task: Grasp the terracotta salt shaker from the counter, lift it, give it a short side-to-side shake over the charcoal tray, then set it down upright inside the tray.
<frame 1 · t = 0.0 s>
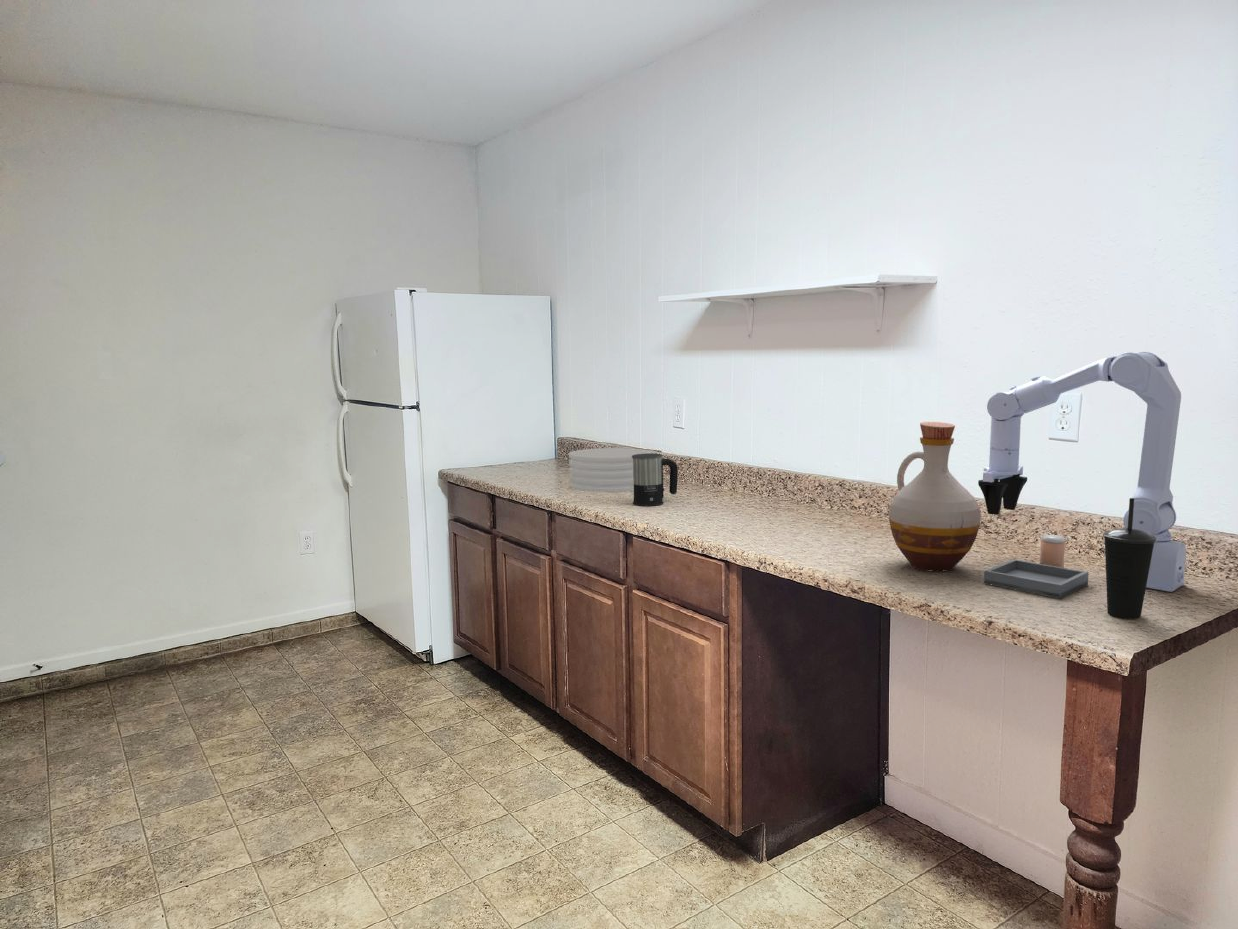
hand: (1001, 511, 179), 10 cm above the kitchen counter, tool pointing down, fingers open, 7 cm apart
shaker: (1051, 570, 170), on the kitchen counter
plate stack: (610, 486, 286), on the kitchen counter
tray: (1035, 584, 160), on the kitchen counter
drinking cup: (1123, 616, 141), on the kitchen counter
milk frother: (649, 502, 254), on the kitchen counter
jug: (928, 566, 175), on the kitchen counter
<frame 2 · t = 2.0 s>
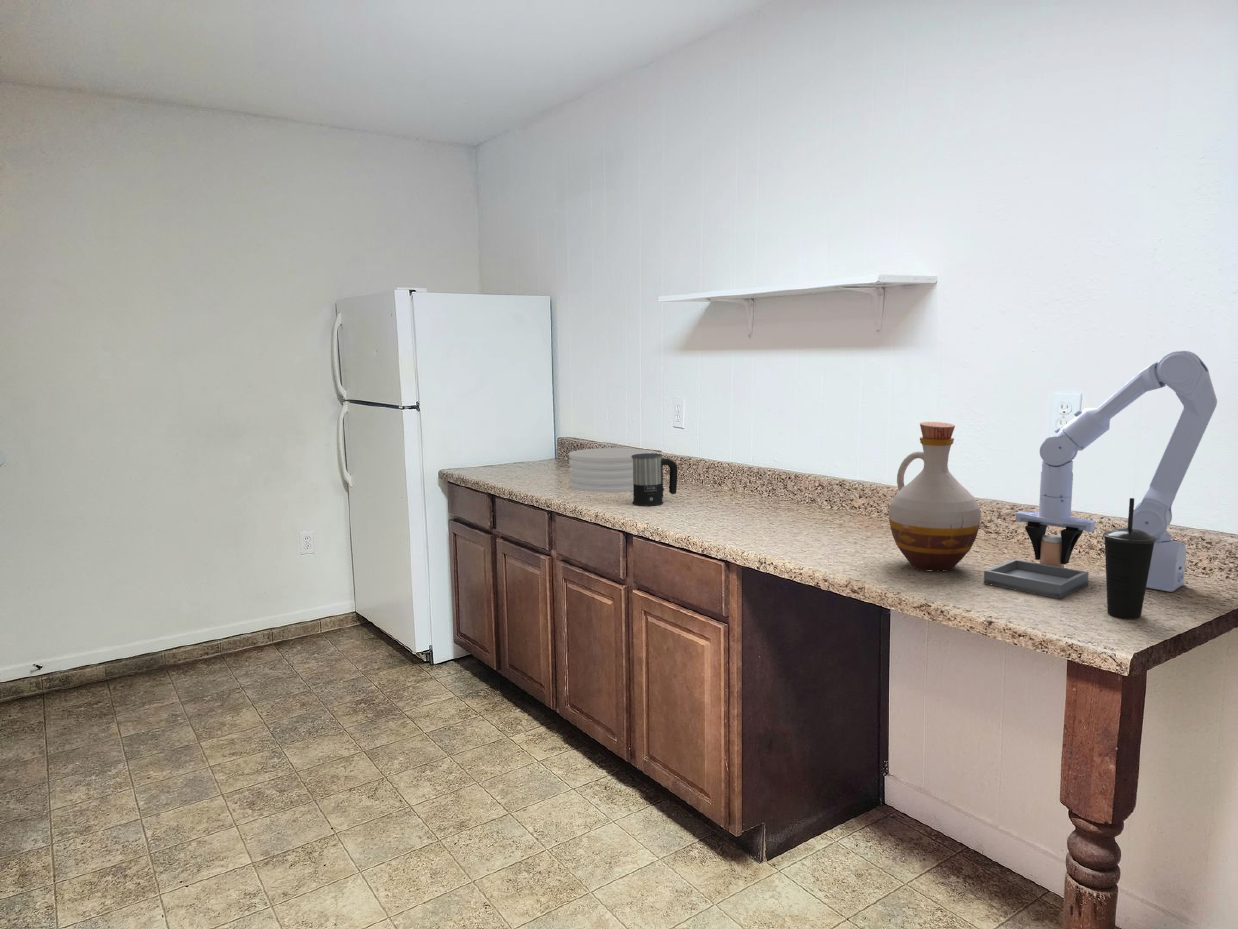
hand: (1051, 561, 169), 2 cm above the kitchen counter, tool pointing down, fingers closed on shaker, 4 cm apart
shaker: (1051, 570, 170), on the kitchen counter, touching gripper
everything else where it was.
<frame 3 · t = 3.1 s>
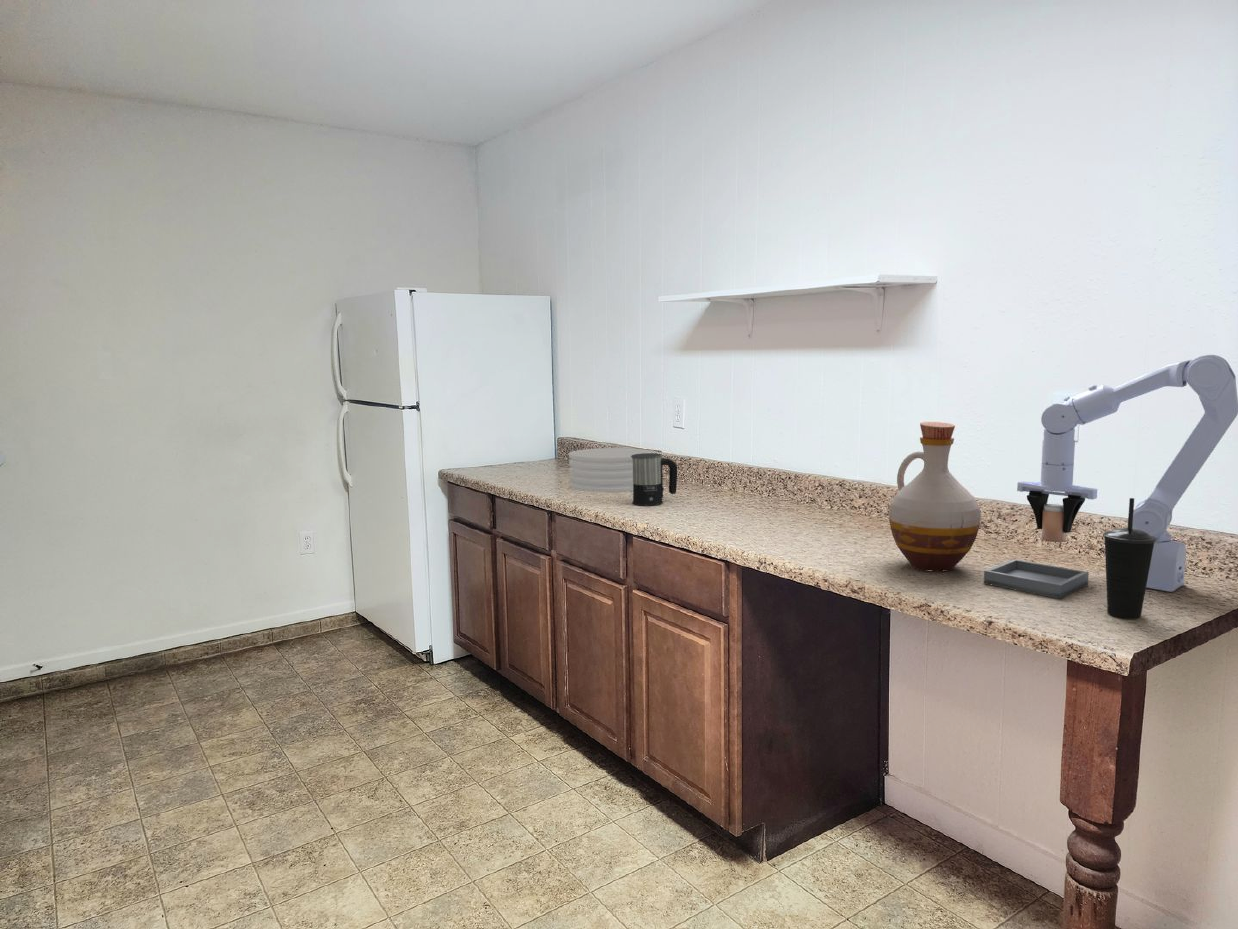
hand: (1053, 530, 169), 8 cm above the kitchen counter, tool pointing down, fingers closed on shaker, 4 cm apart
shaker: (1053, 539, 169), point 6 cm above the kitchen counter, touching gripper
everything else where it was.
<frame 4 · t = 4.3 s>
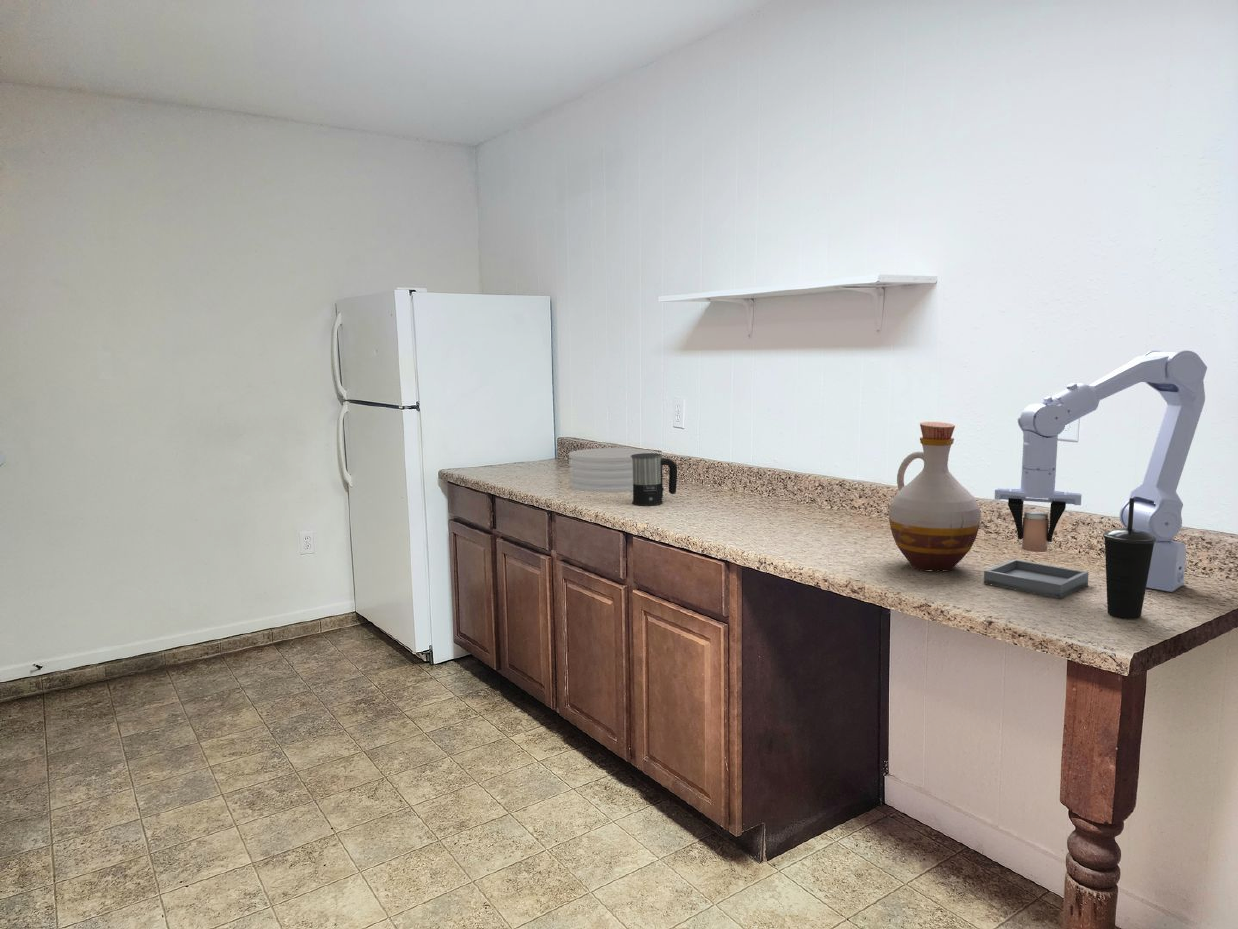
hand: (1034, 539, 158), 9 cm above the kitchen counter, tool pointing down, fingers closed on shaker, 4 cm apart
shaker: (1034, 549, 158), point 7 cm above the kitchen counter, touching gripper
everything else where it was.
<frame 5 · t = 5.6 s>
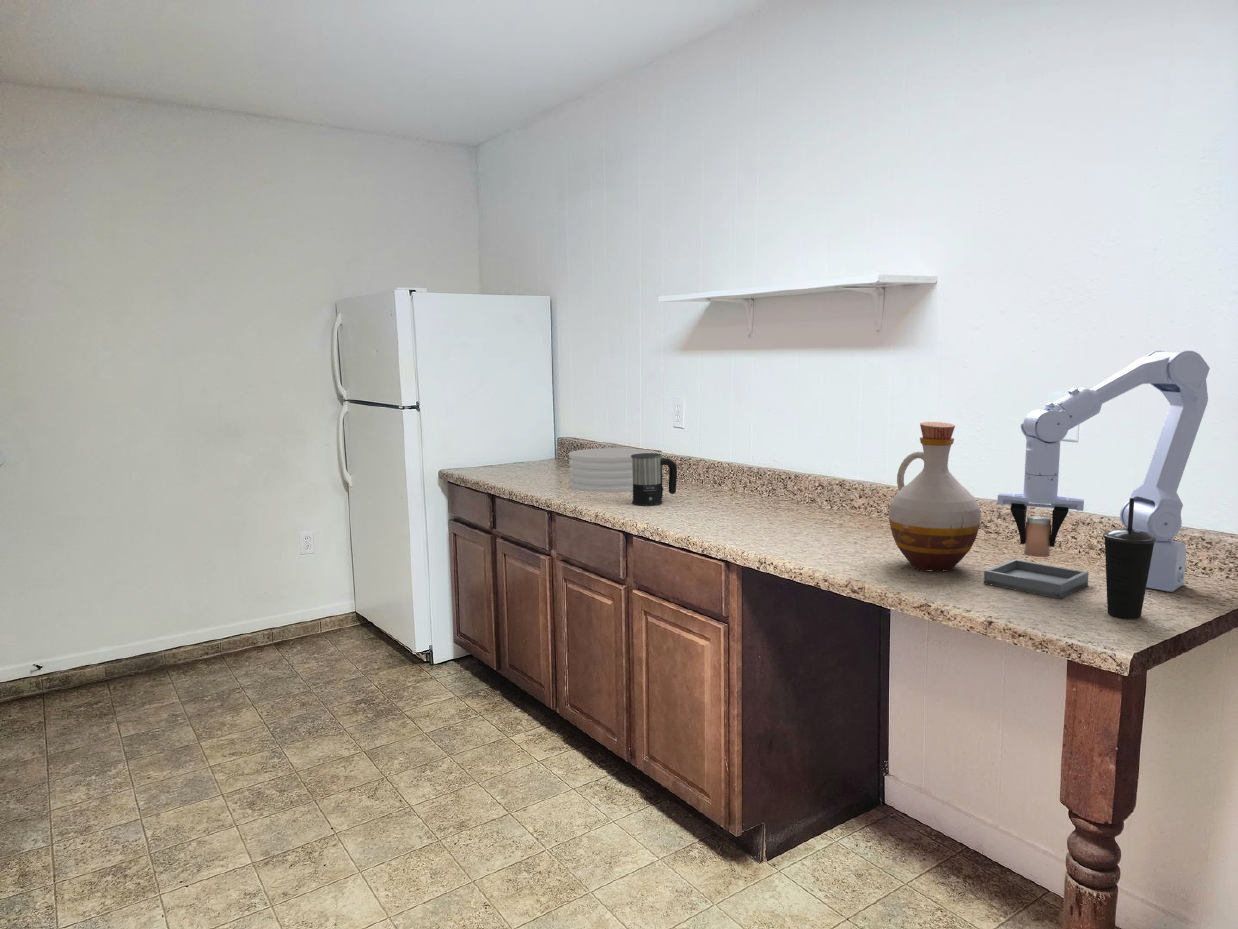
hand: (1037, 544, 159), 8 cm above the kitchen counter, tool pointing down, fingers closed on shaker, 4 cm apart
shaker: (1036, 554, 159), point 6 cm above the kitchen counter, touching gripper
everything else where it was.
when the fingers open (4 cm above the kitchen counter, at t = 6.7 s): shaker drops 1 cm, resting on tray.
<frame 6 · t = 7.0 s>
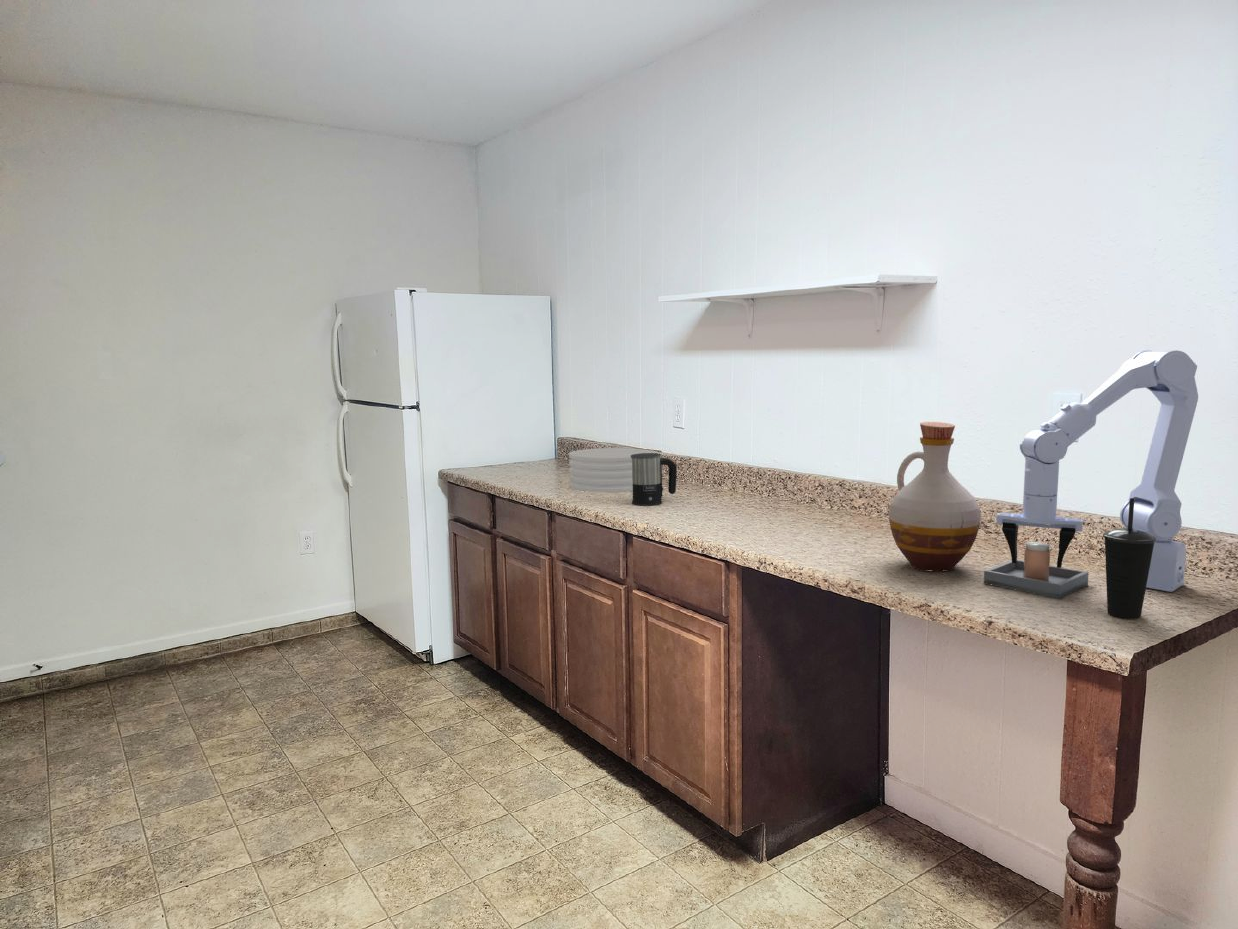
hand: (1036, 564, 159), 4 cm above the kitchen counter, tool pointing down, fingers open, 7 cm apart
shaker: (1035, 580, 160), point 1 cm above the kitchen counter, touching tray
everything else where it was.
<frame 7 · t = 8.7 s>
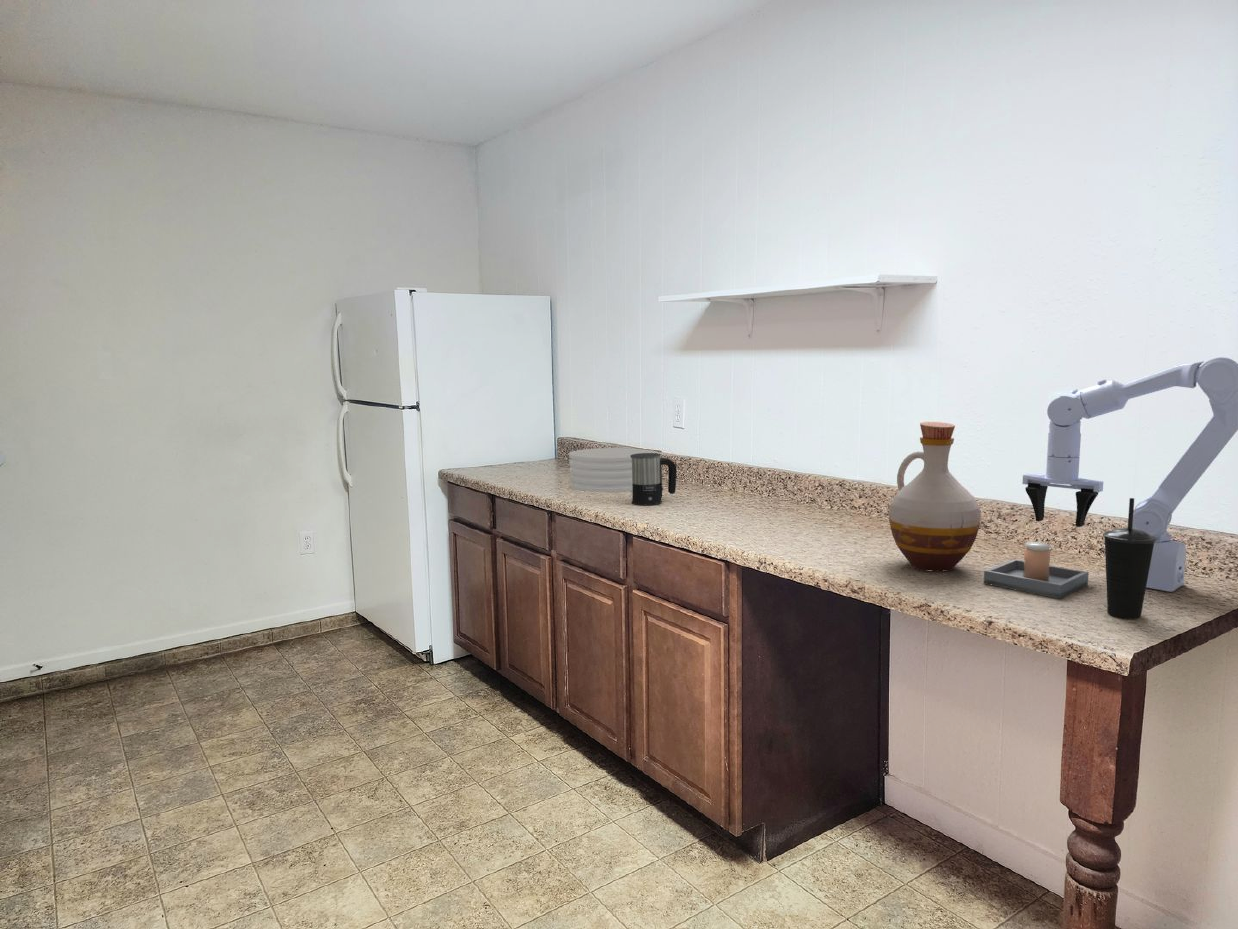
hand: (1059, 523, 168), 10 cm above the kitchen counter, tool pointing down, fingers open, 7 cm apart
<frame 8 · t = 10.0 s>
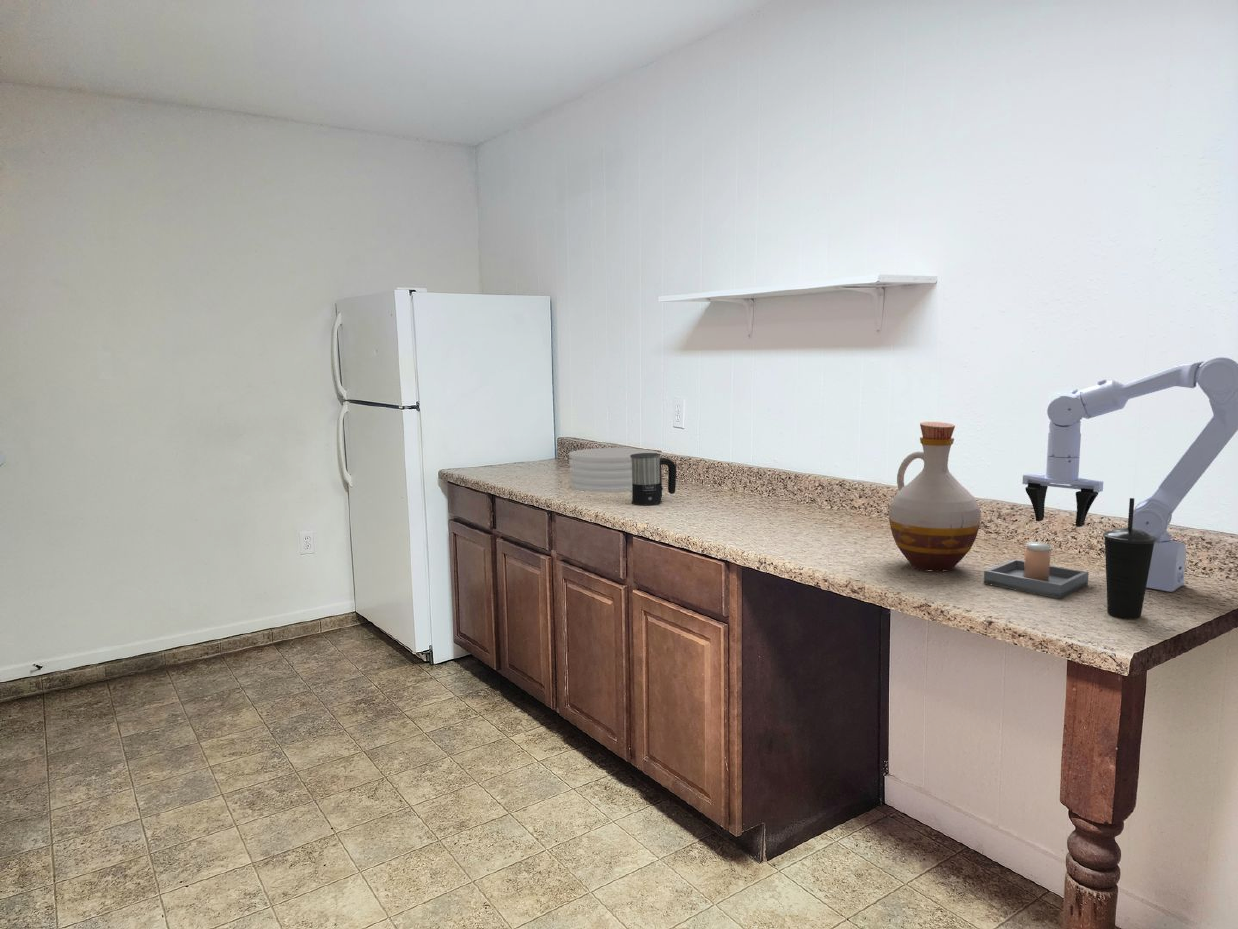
hand: (1059, 523, 168), 10 cm above the kitchen counter, tool pointing down, fingers open, 7 cm apart
at the end: shaker inside the target area on the tray (0.1 cm from its centre), point 0.8 cm above the tray's base; shaker tilted 1°; the gripper is holding nothing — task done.
